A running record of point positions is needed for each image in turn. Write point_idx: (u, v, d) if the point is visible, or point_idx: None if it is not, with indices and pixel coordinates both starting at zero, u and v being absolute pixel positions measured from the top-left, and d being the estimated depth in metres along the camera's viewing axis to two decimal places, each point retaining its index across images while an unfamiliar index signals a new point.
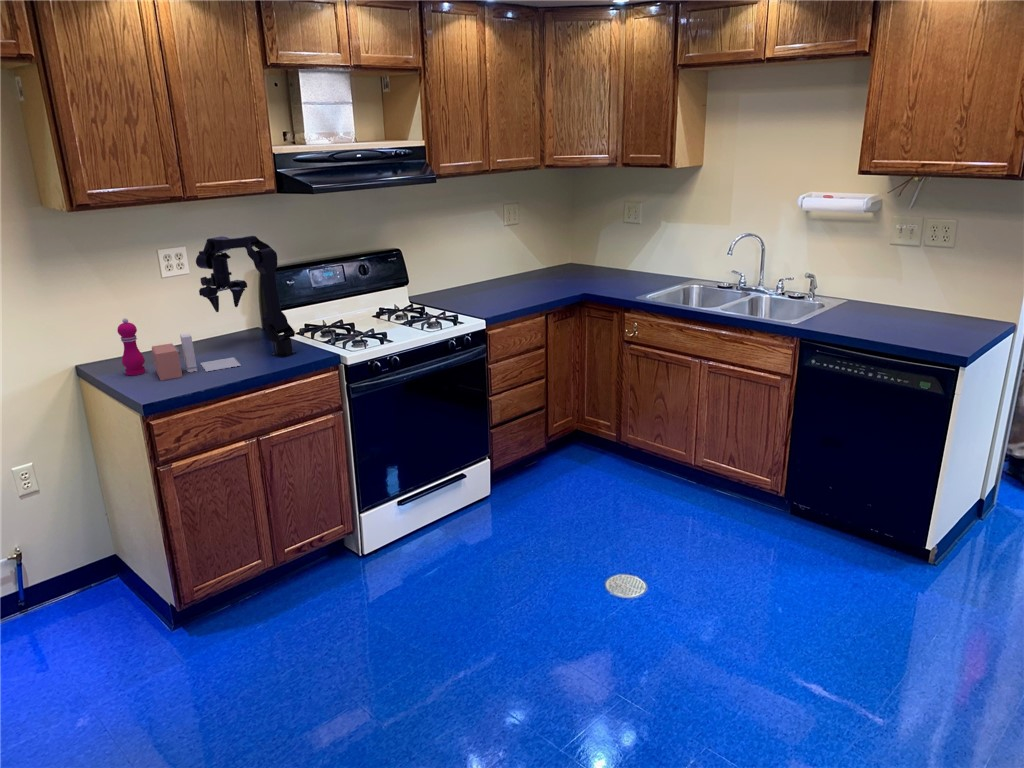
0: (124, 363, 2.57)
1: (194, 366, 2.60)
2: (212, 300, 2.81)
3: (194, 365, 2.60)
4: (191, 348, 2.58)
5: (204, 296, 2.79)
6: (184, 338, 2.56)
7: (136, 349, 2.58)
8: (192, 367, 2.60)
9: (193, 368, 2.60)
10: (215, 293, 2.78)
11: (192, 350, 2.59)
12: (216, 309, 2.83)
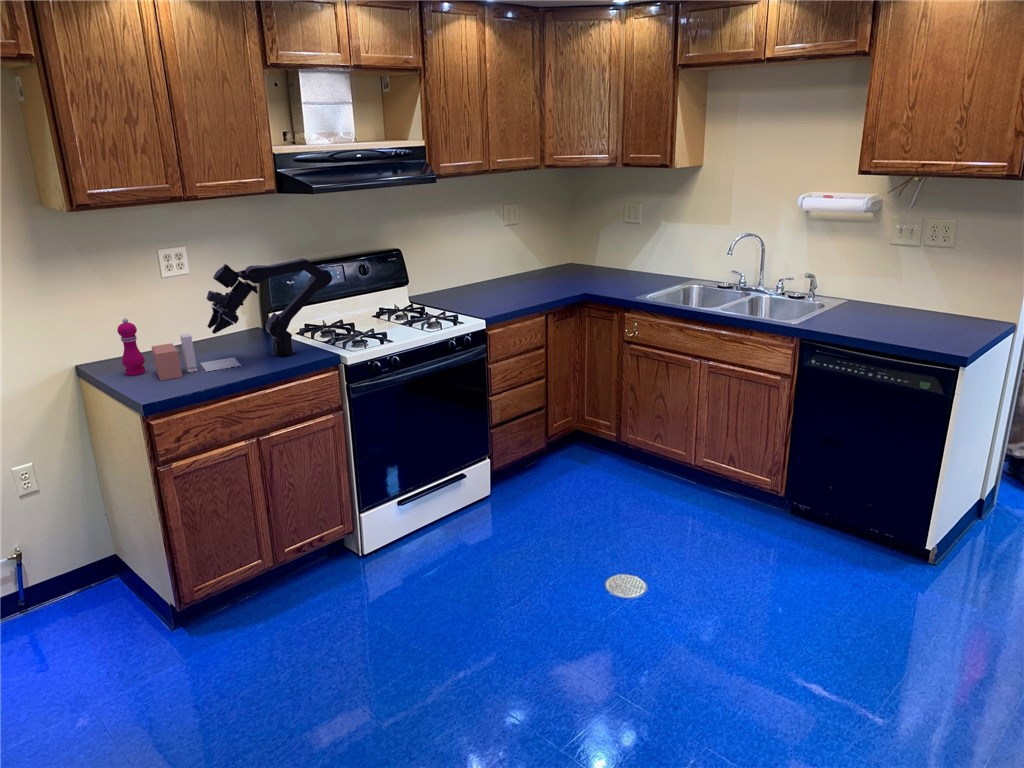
0: (124, 363, 2.57)
1: (194, 366, 2.60)
2: (221, 322, 2.58)
3: (194, 365, 2.60)
4: (191, 348, 2.58)
5: (223, 317, 2.56)
6: (184, 338, 2.56)
7: (136, 349, 2.58)
8: (192, 367, 2.60)
9: (193, 368, 2.60)
10: None
11: (192, 350, 2.59)
12: (216, 331, 2.59)
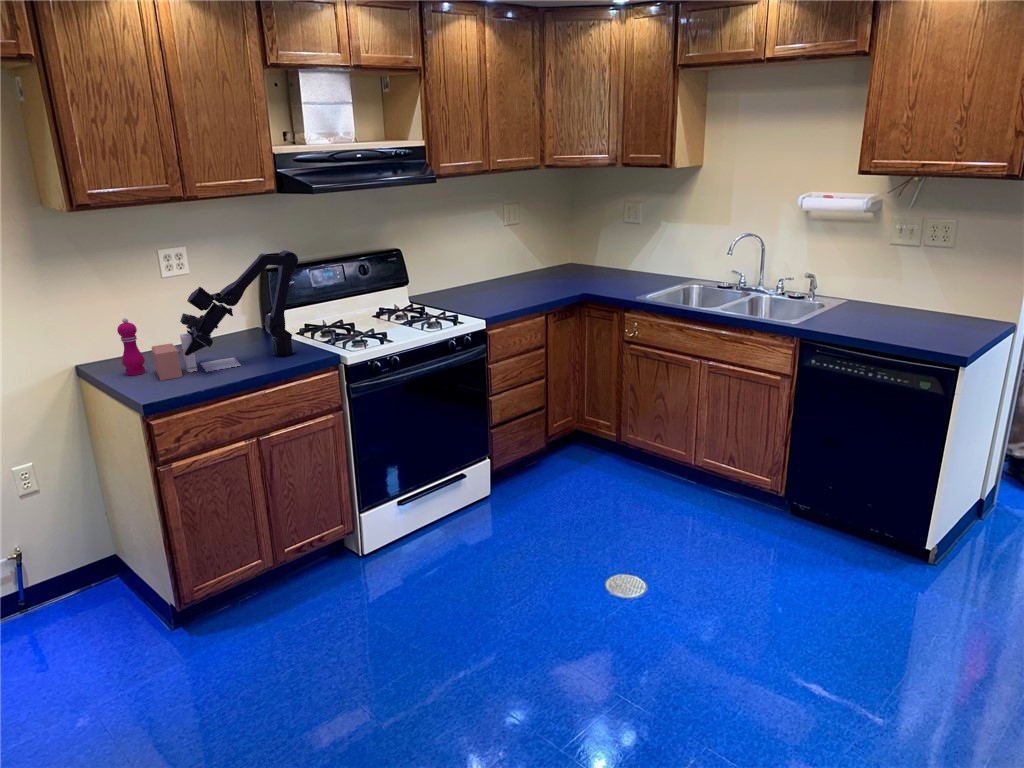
0: (124, 363, 2.57)
1: (194, 366, 2.60)
2: (194, 344, 2.57)
3: (194, 365, 2.60)
4: None
5: (195, 339, 2.55)
6: (184, 338, 2.56)
7: (136, 349, 2.58)
8: (192, 367, 2.60)
9: (193, 368, 2.60)
10: None
11: None
12: (189, 353, 2.58)
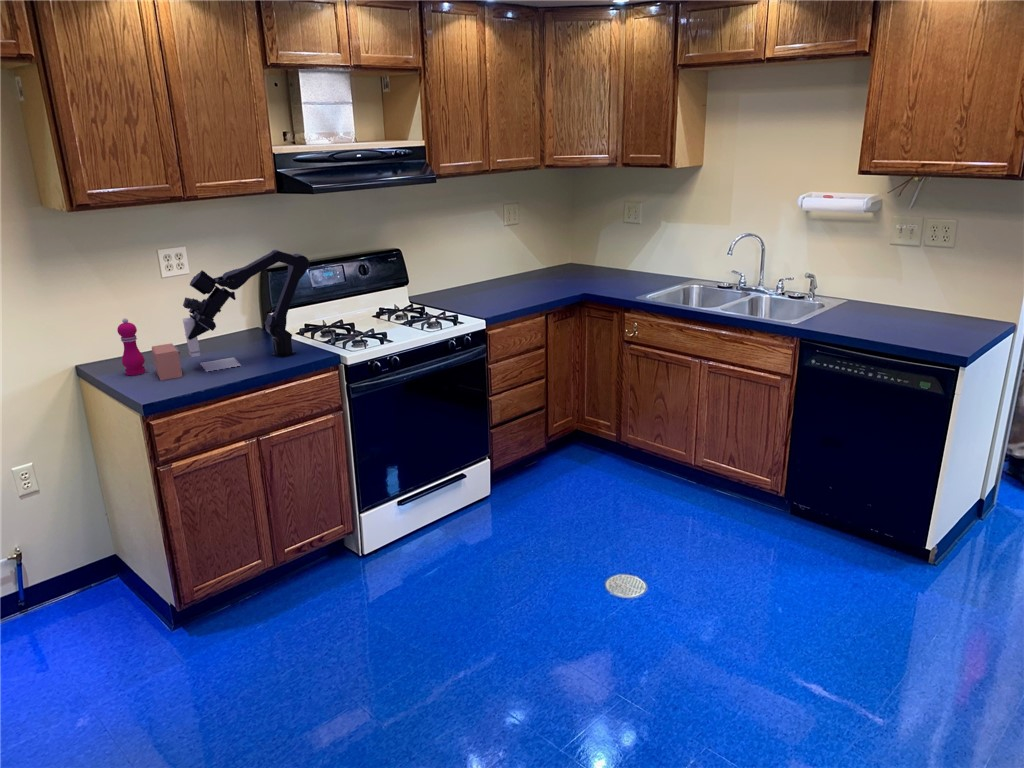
0: (124, 363, 2.57)
1: (197, 350, 2.60)
2: (197, 328, 2.56)
3: (197, 349, 2.59)
4: None
5: (198, 323, 2.54)
6: (187, 322, 2.55)
7: (136, 349, 2.58)
8: (195, 351, 2.59)
9: (197, 352, 2.60)
10: None
11: None
12: (192, 337, 2.57)
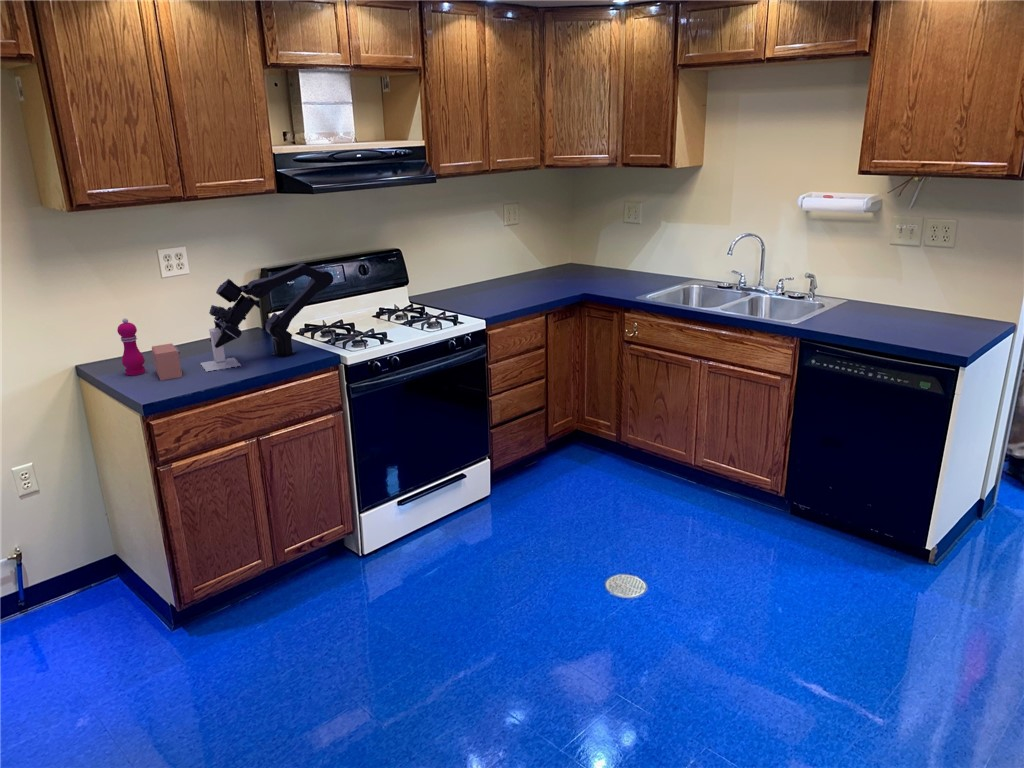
0: (124, 363, 2.57)
1: (223, 360, 2.65)
2: (224, 336, 2.60)
3: (223, 359, 2.65)
4: None
5: (226, 331, 2.58)
6: (214, 332, 2.61)
7: (136, 349, 2.58)
8: (221, 361, 2.65)
9: (222, 361, 2.65)
10: None
11: None
12: (219, 345, 2.60)
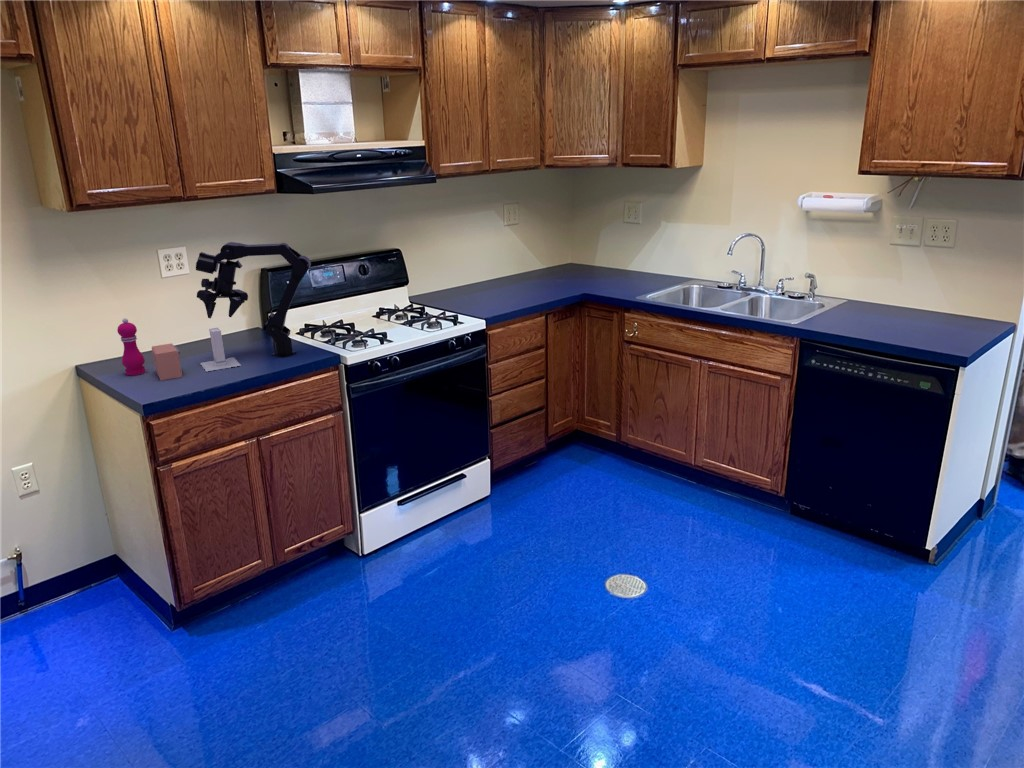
0: (124, 363, 2.57)
1: (223, 360, 2.65)
2: (208, 305, 2.64)
3: (223, 359, 2.65)
4: (220, 342, 2.63)
5: (201, 299, 2.63)
6: (214, 332, 2.61)
7: (136, 349, 2.58)
8: (221, 361, 2.65)
9: (222, 361, 2.65)
10: (213, 300, 2.62)
11: (221, 344, 2.63)
12: (209, 315, 2.66)
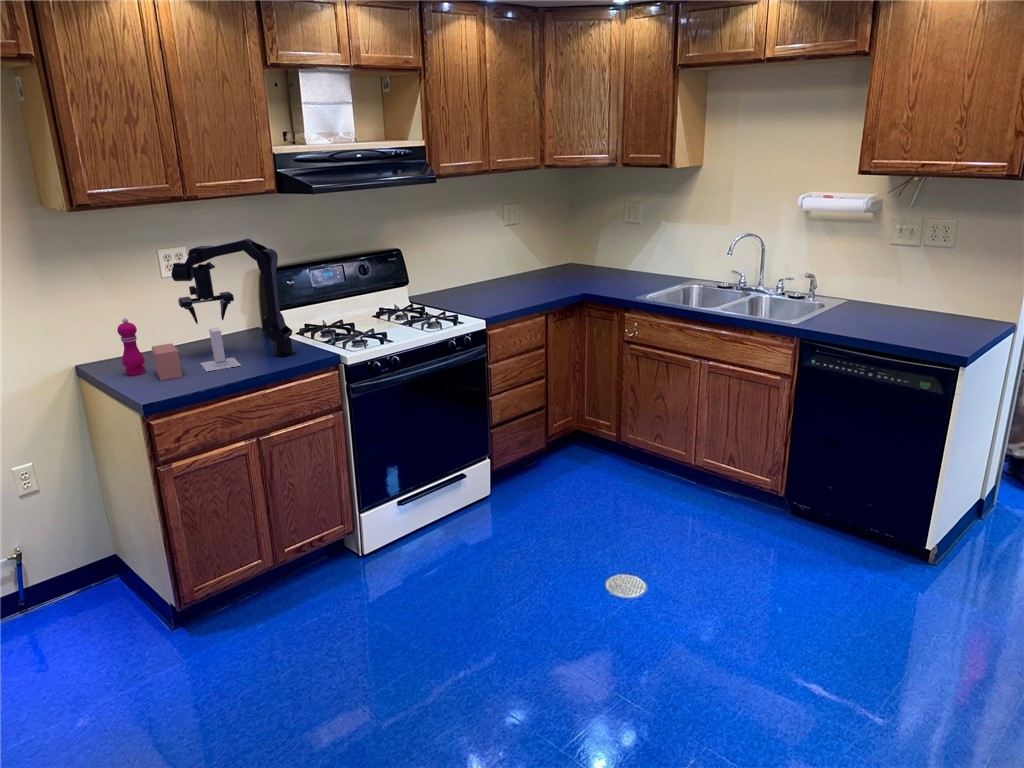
0: (124, 363, 2.57)
1: (223, 360, 2.65)
2: None
3: (223, 359, 2.65)
4: (220, 342, 2.63)
5: None
6: (214, 332, 2.61)
7: (136, 349, 2.58)
8: (221, 361, 2.65)
9: (222, 361, 2.65)
10: (189, 304, 2.68)
11: (221, 344, 2.63)
12: (195, 320, 2.73)
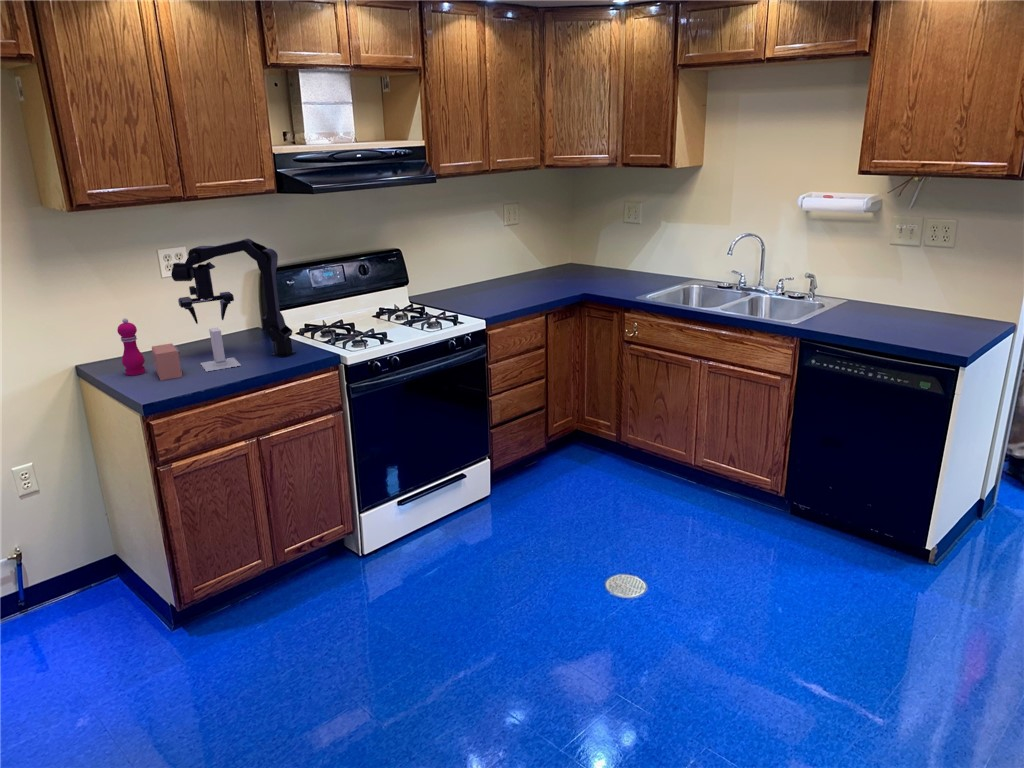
0: (124, 363, 2.57)
1: (223, 360, 2.65)
2: None
3: (223, 359, 2.65)
4: (220, 342, 2.63)
5: None
6: (214, 332, 2.61)
7: (136, 349, 2.58)
8: (221, 361, 2.65)
9: (222, 361, 2.65)
10: (189, 305, 2.68)
11: (221, 344, 2.63)
12: (195, 320, 2.73)
